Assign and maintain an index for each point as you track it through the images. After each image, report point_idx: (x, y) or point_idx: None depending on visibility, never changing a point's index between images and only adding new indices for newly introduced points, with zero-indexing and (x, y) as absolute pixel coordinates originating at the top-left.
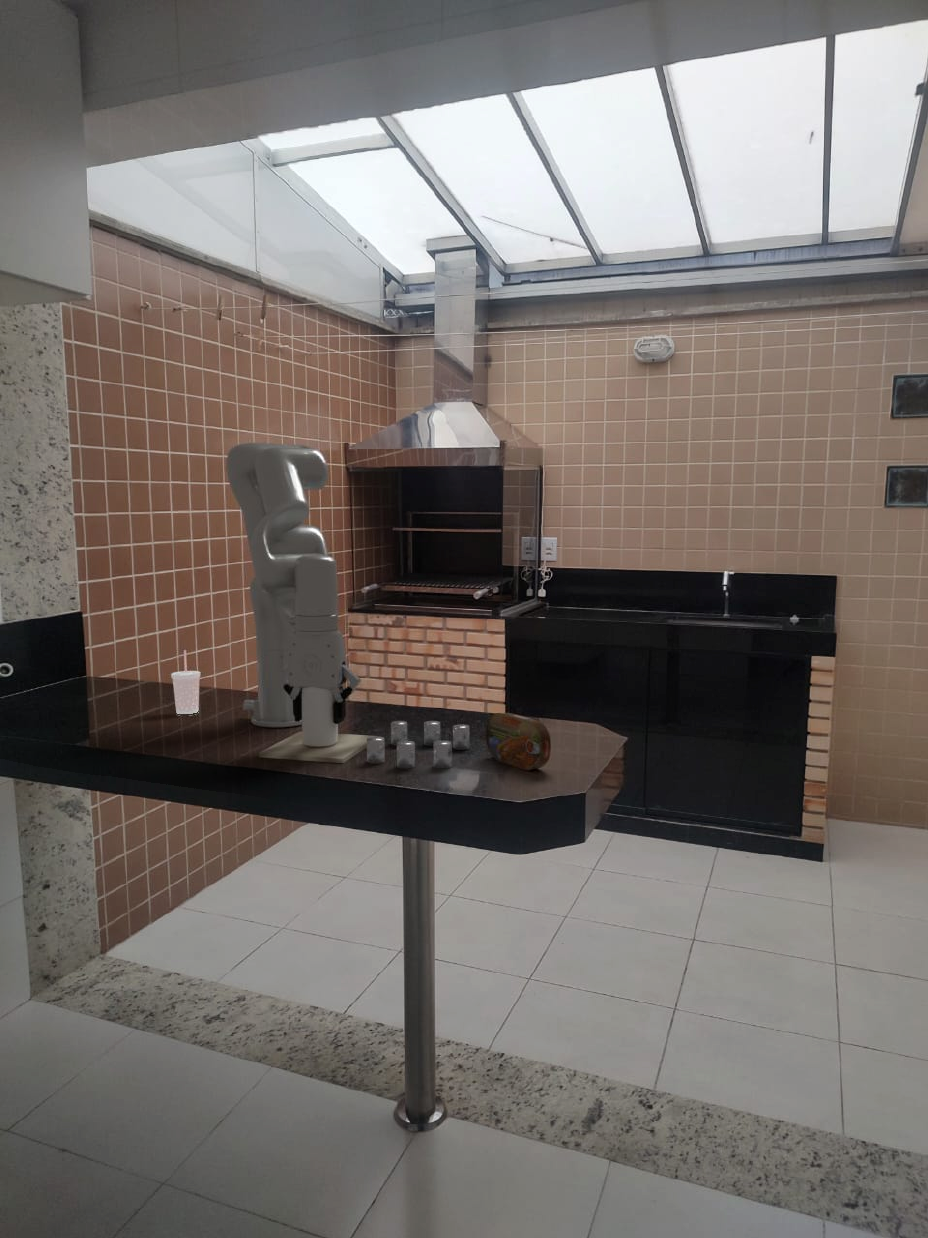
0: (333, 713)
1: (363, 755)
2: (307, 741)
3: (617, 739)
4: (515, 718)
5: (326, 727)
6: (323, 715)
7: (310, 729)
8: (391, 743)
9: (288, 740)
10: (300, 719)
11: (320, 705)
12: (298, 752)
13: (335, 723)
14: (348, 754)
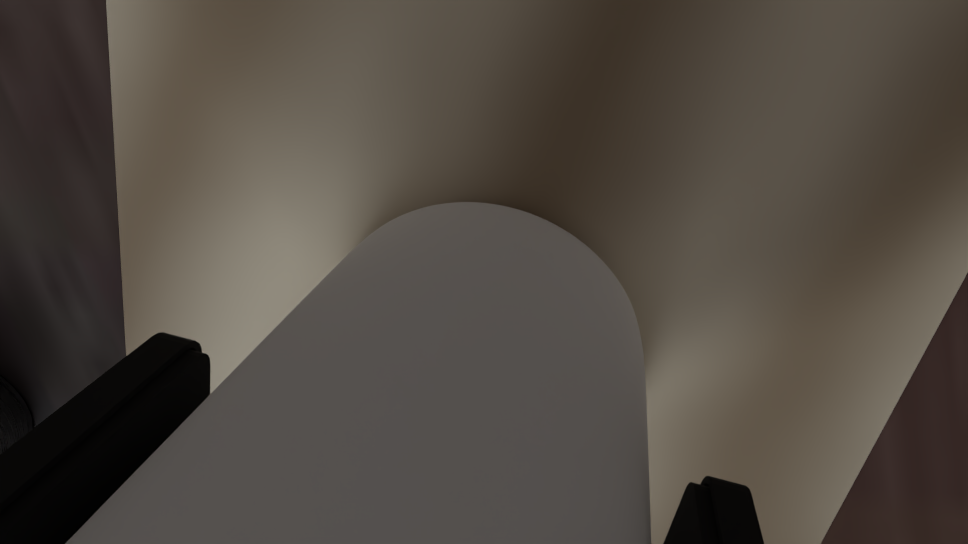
0: (123, 420)
1: (79, 117)
2: (558, 238)
3: None
4: None
5: (303, 301)
6: (256, 374)
7: (498, 278)
8: (13, 400)
9: (801, 465)
10: (675, 523)
11: (202, 479)
12: (621, 38)
13: (184, 338)
14: None
